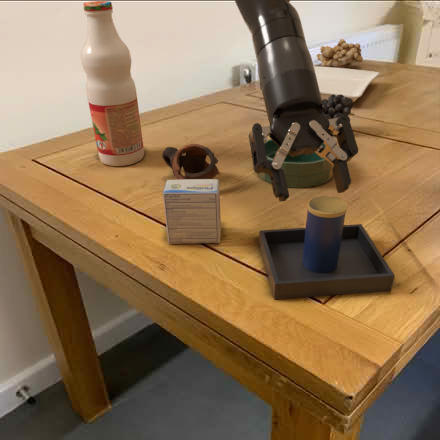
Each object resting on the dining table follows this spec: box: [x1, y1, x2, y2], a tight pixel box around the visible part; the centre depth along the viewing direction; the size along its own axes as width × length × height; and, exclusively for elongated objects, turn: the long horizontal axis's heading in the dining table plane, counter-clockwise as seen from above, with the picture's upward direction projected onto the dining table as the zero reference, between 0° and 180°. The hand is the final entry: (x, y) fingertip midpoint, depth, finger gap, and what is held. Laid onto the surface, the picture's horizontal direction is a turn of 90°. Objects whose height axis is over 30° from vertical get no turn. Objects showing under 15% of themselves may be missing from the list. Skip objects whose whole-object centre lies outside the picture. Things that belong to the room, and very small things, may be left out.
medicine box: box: [162, 178, 222, 245], centre depth 69 cm, size 8×4×9 cm, turn 88°
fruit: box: [322, 94, 356, 137], centre depth 105 cm, size 9×8×15 cm
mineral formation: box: [316, 38, 364, 68], centre depth 154 cm, size 8×13×15 cm
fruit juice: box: [80, 0, 145, 167], centre depth 89 cm, size 9×9×28 cm
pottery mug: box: [161, 143, 221, 180], centre depth 86 cm, size 12×10×8 cm
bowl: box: [257, 138, 334, 189], centre depth 88 cm, size 14×14×5 cm
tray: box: [258, 223, 395, 300], centre depth 64 cm, size 15×13×2 cm
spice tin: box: [302, 195, 348, 273], centre depth 62 cm, size 5×5×9 cm
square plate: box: [259, 66, 380, 103], centre depth 132 cm, size 27×27×4 cm
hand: (314, 195), depth 62 cm, fingers open, 8 cm apart
